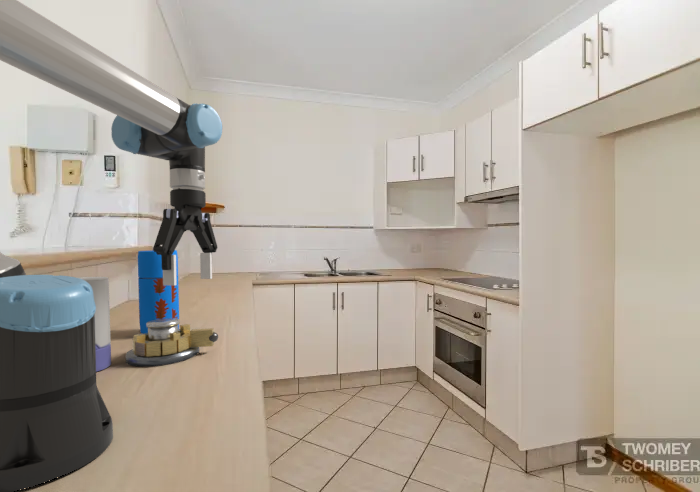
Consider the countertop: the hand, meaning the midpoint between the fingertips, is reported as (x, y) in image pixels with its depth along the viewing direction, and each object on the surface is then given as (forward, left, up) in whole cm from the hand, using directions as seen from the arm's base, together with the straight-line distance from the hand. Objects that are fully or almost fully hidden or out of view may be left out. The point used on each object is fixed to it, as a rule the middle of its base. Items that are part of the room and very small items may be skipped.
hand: (189, 281), depth 84 cm
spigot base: (+1, +9, -18) cm, 21 cm away
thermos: (+17, +29, -19) cm, 38 cm away
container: (-12, +18, -19) cm, 29 cm away
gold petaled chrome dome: (+2, +7, -17) cm, 18 cm away
